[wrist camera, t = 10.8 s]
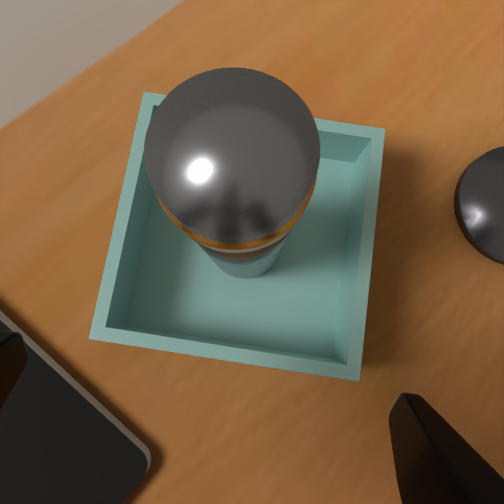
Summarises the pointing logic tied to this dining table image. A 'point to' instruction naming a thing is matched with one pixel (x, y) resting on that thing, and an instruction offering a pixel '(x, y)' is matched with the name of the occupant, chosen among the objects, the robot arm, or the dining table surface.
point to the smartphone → (63, 440)
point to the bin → (252, 289)
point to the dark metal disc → (483, 204)
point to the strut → (234, 165)
